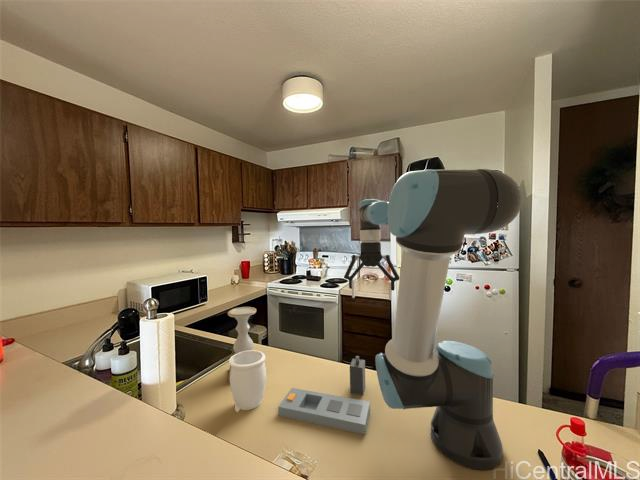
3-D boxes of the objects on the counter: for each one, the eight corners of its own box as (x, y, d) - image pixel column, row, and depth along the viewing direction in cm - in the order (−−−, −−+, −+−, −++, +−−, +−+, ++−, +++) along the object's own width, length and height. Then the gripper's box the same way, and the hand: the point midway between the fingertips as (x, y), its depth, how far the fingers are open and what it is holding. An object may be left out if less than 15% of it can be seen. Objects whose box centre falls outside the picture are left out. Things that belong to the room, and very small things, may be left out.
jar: (223, 413, 75) (221, 363, 74) (245, 392, 85) (243, 347, 84) (254, 422, 71) (252, 368, 71) (273, 399, 81) (272, 352, 80)
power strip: (370, 415, 72) (369, 399, 72) (365, 440, 64) (365, 422, 64) (292, 400, 80) (291, 386, 80) (278, 420, 71) (278, 404, 71)
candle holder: (259, 364, 103) (257, 305, 102) (260, 379, 92) (257, 313, 91) (230, 368, 100) (227, 307, 99) (227, 384, 89) (225, 316, 89)
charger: (365, 390, 84) (364, 354, 84) (363, 399, 79) (362, 361, 79) (353, 388, 85) (352, 352, 85) (350, 397, 81) (349, 359, 80)
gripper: (405, 240, 96) (406, 297, 96) (340, 241, 103) (341, 294, 104) (405, 241, 88) (406, 302, 89) (335, 242, 96) (336, 298, 97)
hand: (371, 298), depth 97 cm, fingers open, 13 cm apart
